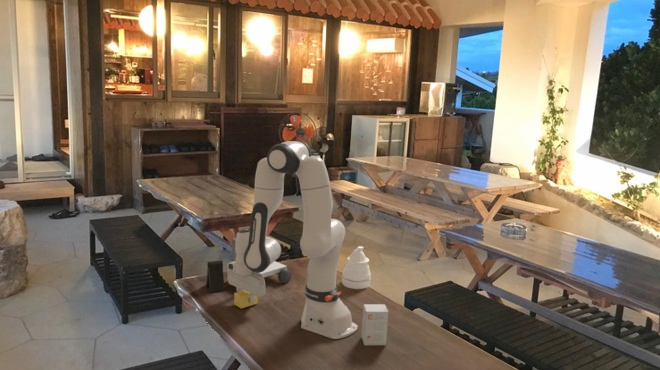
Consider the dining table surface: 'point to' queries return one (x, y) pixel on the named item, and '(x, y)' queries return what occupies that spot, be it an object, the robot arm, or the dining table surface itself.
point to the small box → (374, 324)
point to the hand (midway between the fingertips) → (246, 300)
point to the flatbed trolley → (269, 267)
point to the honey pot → (356, 270)
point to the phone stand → (215, 276)
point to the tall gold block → (243, 299)
